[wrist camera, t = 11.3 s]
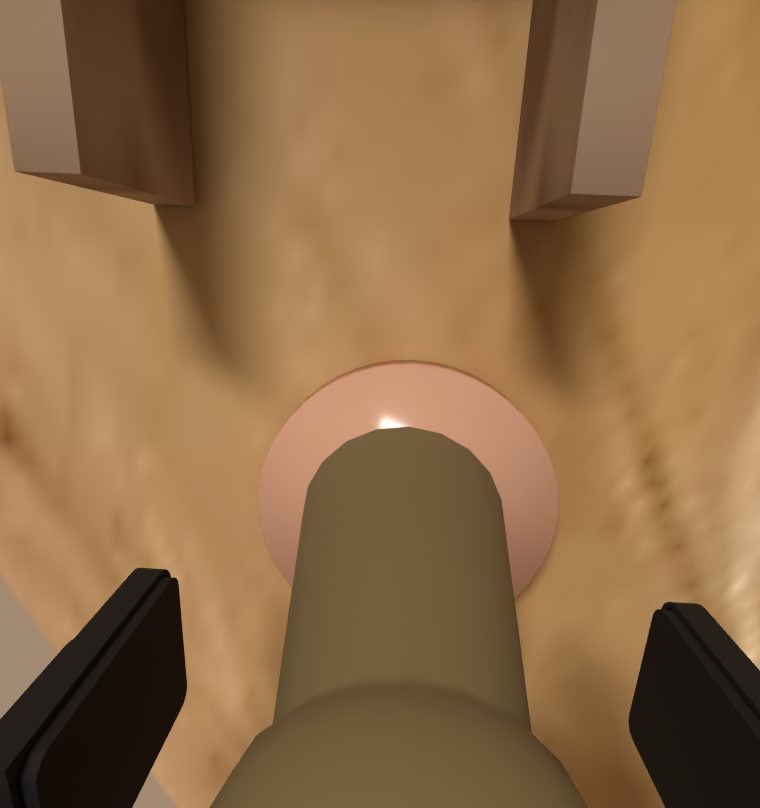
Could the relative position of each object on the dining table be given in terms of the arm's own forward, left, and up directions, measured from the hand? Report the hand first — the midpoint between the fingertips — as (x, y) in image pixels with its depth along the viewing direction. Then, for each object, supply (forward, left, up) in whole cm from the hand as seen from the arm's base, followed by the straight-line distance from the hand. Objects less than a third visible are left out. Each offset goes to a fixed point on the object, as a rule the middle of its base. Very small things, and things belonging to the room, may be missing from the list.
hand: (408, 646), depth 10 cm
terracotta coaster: (0, 0, -6) cm, 6 cm away
